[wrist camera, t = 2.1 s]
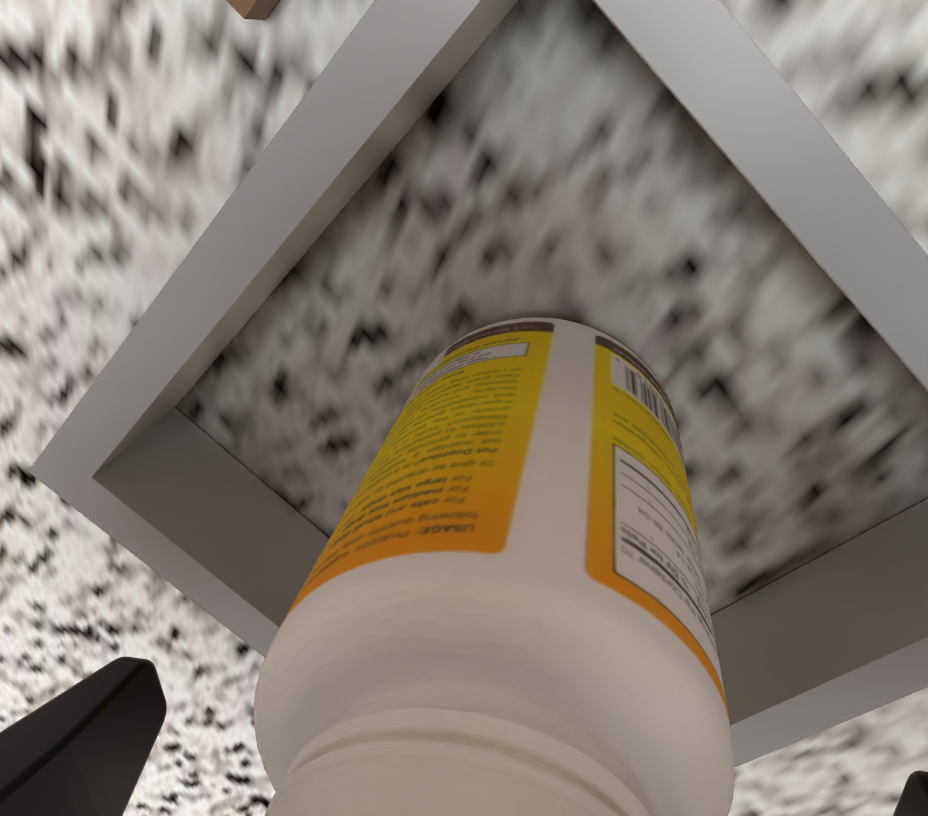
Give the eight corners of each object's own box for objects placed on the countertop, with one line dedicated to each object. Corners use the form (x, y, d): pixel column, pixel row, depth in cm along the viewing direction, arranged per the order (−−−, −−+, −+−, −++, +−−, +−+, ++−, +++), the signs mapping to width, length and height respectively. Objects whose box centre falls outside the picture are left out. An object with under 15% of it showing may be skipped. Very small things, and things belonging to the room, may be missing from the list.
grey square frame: (1075, 470, 13) (1188, 577, 11) (532, 747, 19) (519, 857, 17) (558, -158, 10) (539, -223, 8) (120, 403, 17) (27, 471, 14)
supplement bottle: (385, 486, 16) (109, 1023, 7) (456, 265, 14) (154, 696, 5) (612, 572, 16) (608, 1221, 7) (729, 367, 14) (951, 1005, 5)
